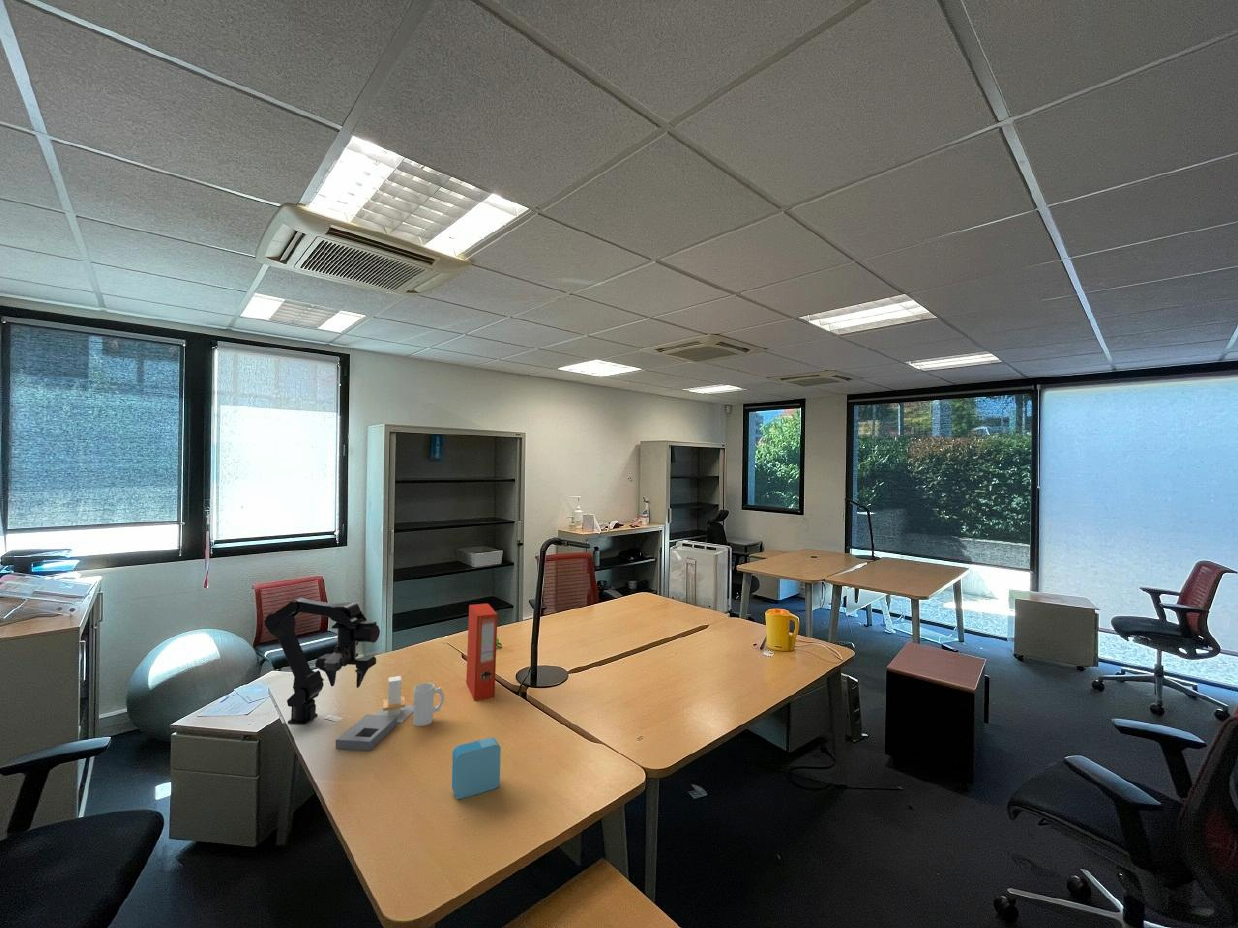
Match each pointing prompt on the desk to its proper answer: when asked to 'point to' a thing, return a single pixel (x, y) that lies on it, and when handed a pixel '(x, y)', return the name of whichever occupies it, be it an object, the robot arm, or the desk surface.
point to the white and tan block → (394, 697)
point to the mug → (425, 703)
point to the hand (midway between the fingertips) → (345, 686)
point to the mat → (403, 714)
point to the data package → (476, 767)
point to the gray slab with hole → (366, 732)
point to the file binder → (481, 651)
